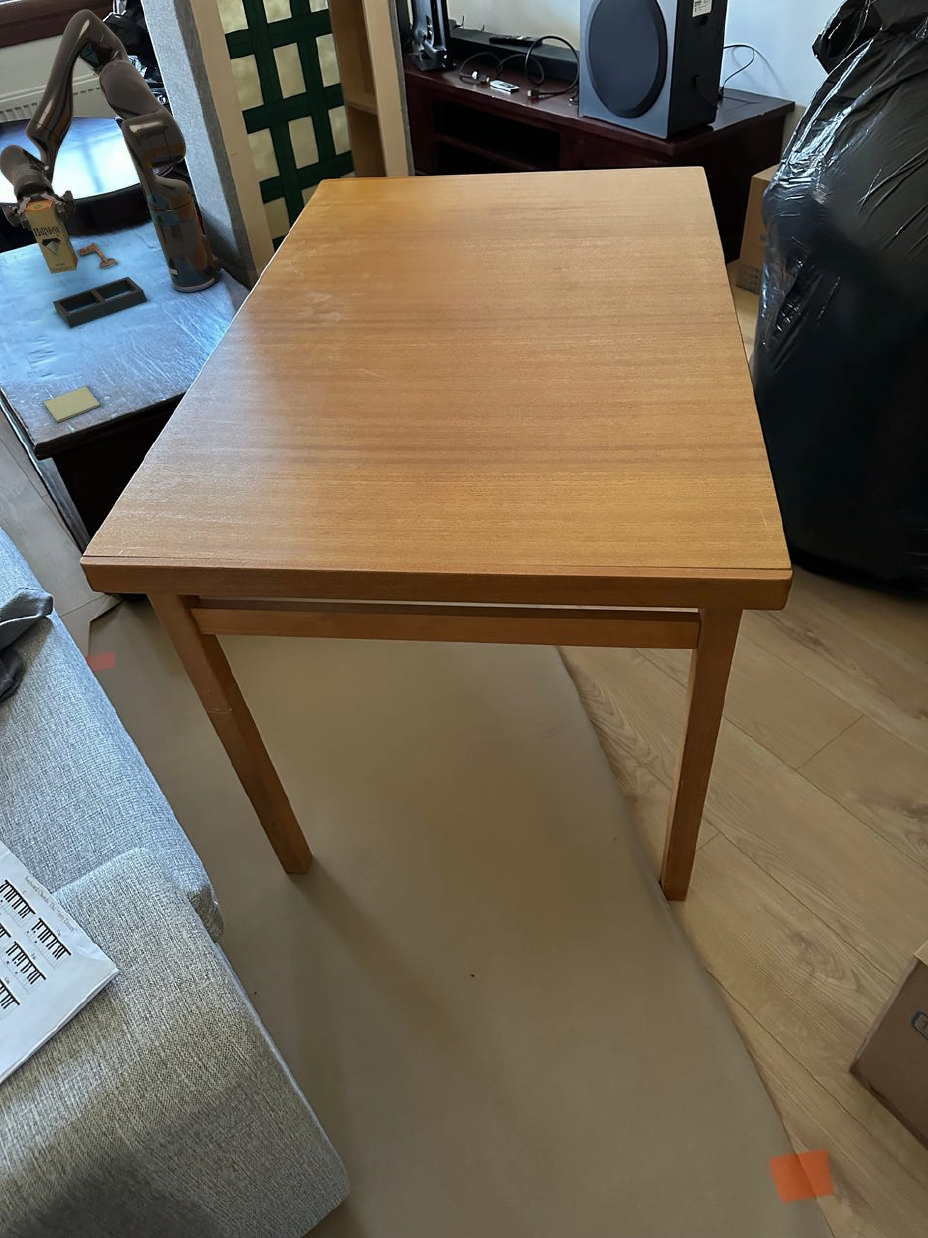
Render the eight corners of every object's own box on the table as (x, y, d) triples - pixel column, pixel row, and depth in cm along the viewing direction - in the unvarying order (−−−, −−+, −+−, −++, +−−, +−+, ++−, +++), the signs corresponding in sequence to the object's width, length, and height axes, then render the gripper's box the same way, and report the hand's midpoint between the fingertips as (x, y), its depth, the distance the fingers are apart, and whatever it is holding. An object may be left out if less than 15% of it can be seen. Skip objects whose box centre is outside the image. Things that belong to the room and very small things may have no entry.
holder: (132, 287, 187) (128, 276, 185) (147, 300, 182) (143, 289, 180) (57, 312, 181) (52, 301, 179) (70, 327, 176) (65, 316, 174)
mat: (86, 388, 158) (85, 386, 158) (100, 406, 154) (99, 403, 153) (44, 404, 155) (43, 401, 155) (57, 422, 151) (56, 420, 150)
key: (78, 251, 203) (94, 272, 194) (76, 248, 202) (92, 268, 193) (101, 242, 205) (118, 263, 195) (99, 239, 204) (116, 259, 195)
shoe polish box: (75, 269, 171) (51, 208, 162) (51, 273, 170) (24, 212, 161) (78, 259, 174) (53, 199, 165) (53, 263, 174) (27, 203, 165)
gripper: (77, 204, 178) (89, 231, 168) (7, 220, 175) (15, 249, 164) (62, 166, 173) (74, 192, 162) (-10, 182, 169) (-3, 209, 159)
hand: (44, 220), depth 163 cm, fingers closed on shoe polish box, 6 cm apart
